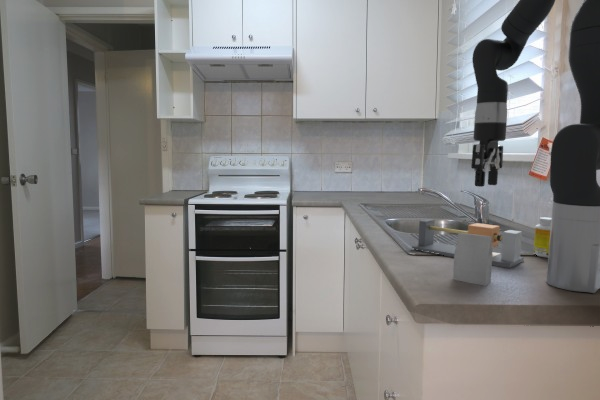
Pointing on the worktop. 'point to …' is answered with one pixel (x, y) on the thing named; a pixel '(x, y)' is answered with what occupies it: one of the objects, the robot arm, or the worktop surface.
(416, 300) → the worktop surface
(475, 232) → the sleeve
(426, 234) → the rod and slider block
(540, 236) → the supplement bottle
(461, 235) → the grey tapered slab
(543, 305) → the worktop surface
